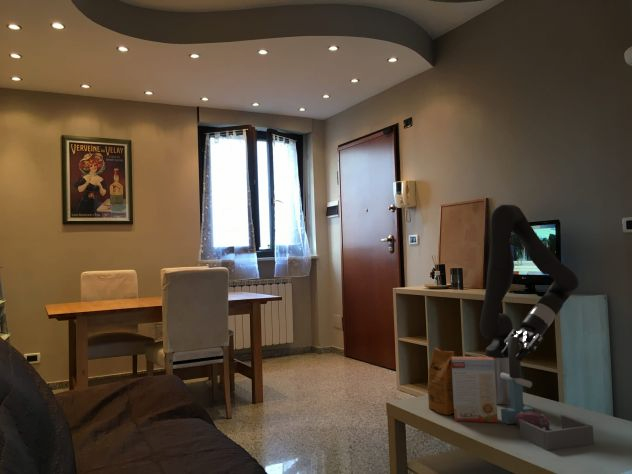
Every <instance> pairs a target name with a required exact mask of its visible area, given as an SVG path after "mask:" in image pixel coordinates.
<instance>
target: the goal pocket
mask: <svg viewBox="0 0 632 474" xmlns="http://www.w3.org/2000/svg"><path fill="white" fill-rule="evenodd" d="M560 419H561V420H560V421H561V423H560V424H561V428H558V429H550V430H549V429H548V430H547V429H545V428H544V429H543V428H542V429H541V428H539V427H537V426H535V425H534V424H532V423H531V422H530V423H531V424H530V423H528V422H526V421H523V420H520V426H519V432H520V433H519V437H520V438H521V439H523V440H526V441H527V442H529V443H531V444H532V445H535V446H537V447H539V448H541V449H542V450H545V451H553V450H560V449H567V448H573V447H580V446H588V445H594V443H595V441H594V426H593V425H590V424H588V423H585V422H583V421H580V420H578V419H576V418H573V417H570V416H567V415H565V414H561V415H560Z"/></svg>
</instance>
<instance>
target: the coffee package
mask: <svg viewBox="0 0 632 474" xmlns="http://www.w3.org/2000/svg"><path fill="white" fill-rule="evenodd" d="M456 356H457V352H456V351H452V350H440V349H439V348H438V347H434V350H433V353H432V356H431V360H430V363H429V368H428V376H427V396H428V399H427V400H428V409H429V410H433V411H435V412H436V413H437V414H441V415H445V416H449V415H451V414H454V401H453V380H452V357H456Z"/></svg>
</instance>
